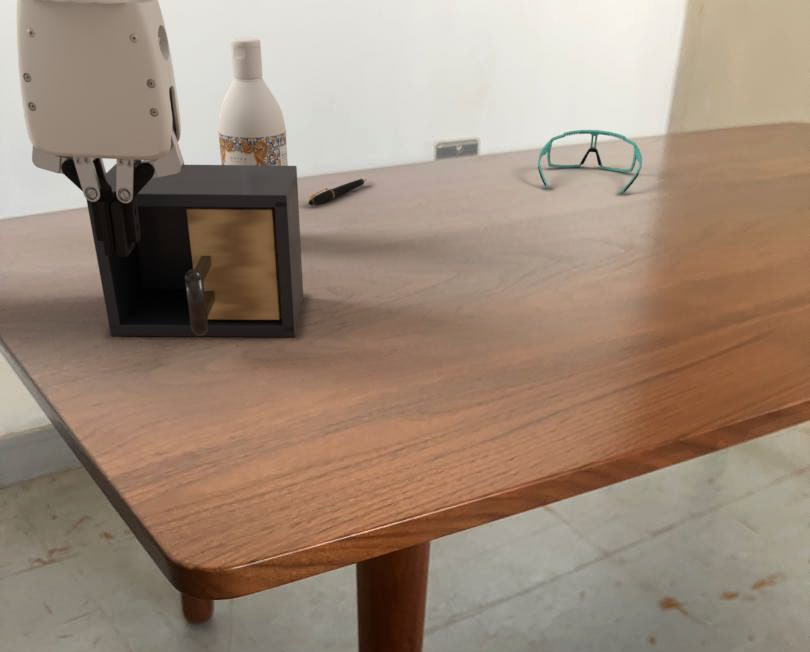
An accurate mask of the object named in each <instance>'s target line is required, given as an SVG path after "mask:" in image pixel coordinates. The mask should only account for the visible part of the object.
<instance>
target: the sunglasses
mask: <svg viewBox="0 0 810 652" xmlns="http://www.w3.org/2000/svg"><path fill="white" fill-rule="evenodd" d="M574 135H591V139H590V140H591V141H590V145H589V146H590V147H589V149H587V151H586V153H585V154H584V155H583V158H581V160H580V162H579V164H555V163H552V161H551V153H552V152H551V151H552V147H553V146H552V145H553V142H554V141H556V140H559V139H563V138H566V136H567V137H569V136H574ZM599 135H601V136H602V135H603V136H608V137H613V138H616V139H620V140H622V141H624V142H626V143H628V144H630V145H631V146H633V158H632V163H631V166H630V168H625V169H624V168H614V167H607V166H603V163H602V159H601V157H600V154H599V150H598V148H597V144H598V143H597V141H598V136H599ZM590 153H595V156H596V161H597V165H598V167H600V169H602V170H606V171H611V172H612V171H613V172H619V173H631V172H633V171H634V169H635V166H636V162H638V168H637V169H636V172H635V173H634V175H633V176H632V178H630V180H629V182H628V183H627V184H626V185H625V186H624V187H623V188H622V189H621V191H620V194H621V195H623V194H625V193H626V192H627V190H629V188H630V187H631V186H632V185H633V183H634V182H635V180H637V178H638V176H639V175H640V172H641V169H642V165H643V155H642V153H641V150H640V148H639V147H638V145H637V143H636V142H635V141H632V140H631V139H628V138H627V137H626V136H625V135H622V134H621V133H616V132H613V131H607V130H601V129H579V130H578V129H577V130H570V131H565V132H563V133H562V134H559V135H556V136H554V137H553V136H552V137H551V138H550V139H549V141H548V142H547V141H546V143H545V144H544V146H543V147H542V148H541V150H540V152H539V156H538V160H537V169H538V173H539V176H540V179H541V181H542V183H543V186H544V187H545V189H549V184H548V181H547V179H546V178H545V175H544V172H543V168H542V165H541V160H542V157H543V156H546V161H547V165H548V167H549V168H559V169H560V168H561V169H562V168H563V169H564V168H565V169H570V168H571V169H572V168H574V169H575V168H580V167H582V166H583V165H584V164H585V162H586V160H587V158H588V156H589V154H590Z"/></svg>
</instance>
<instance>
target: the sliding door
mask: <svg viewBox="0 0 810 652" xmlns="http://www.w3.org/2000/svg"><path fill="white" fill-rule="evenodd" d="M186 212H187V221H188V229H189V237H190V246H191V254H192V262H193V269H190V270H188V271H187V272H186V273H185V285H186V293H187V301H188V309H189V317H190V325H191V330H192V332H193V333H194V334H196V335H199V336H198V337H202V336H201V335H204V334H206V333H207V331H208V319H213V320H280V317H281V316H280V301H279V286H278V271H277V256H276V241H275V226H274V211H273V208H258V207H187V209H186Z"/></svg>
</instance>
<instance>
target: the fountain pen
mask: <svg viewBox="0 0 810 652" xmlns="http://www.w3.org/2000/svg"><path fill="white" fill-rule="evenodd" d="M367 180H368V178H359V179H356V180H354V181H350V182H347V183H344V184H341V185H339V186H336V187H333V188H330V189H328V187H325V188H322V189H321V190H319V191H316V192H315V193H312V194H311V195H310V196H309V198H308V199H309V200H308V205H310V206H317V205H321V204H324V203H327V202H330V201H332V200H334V199H335V198H337V197H339V196H342V195H344V194H347V193H349V192H351V191H353V190H354V189H355V190H356V189H357V188H359V187H361V186H363V185H364V184H365V182H367Z"/></svg>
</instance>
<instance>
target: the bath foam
mask: <svg viewBox="0 0 810 652" xmlns="http://www.w3.org/2000/svg"><path fill="white" fill-rule="evenodd" d="M230 52H231V53H230V55H231V66H232V75H233V80H232V81H231V84H230V86H229V87H228V90H227V92H226V94H225V96H224V99H223V100H222V103H221V106H220V110H219V115H218V127H217V128H218V131H217V132H218V142H219V153H220V154H219V155H220V163H221V164H220V165H270V166H289V164H288V162H289V161H288V145H287V130H286V123H285V119H284V115H283V112H282V110H281V109H282V108H281V107H280V104H279V103H278V101H277V98H276V97H275V96H274V94H273V93H272V91H271V90H270V88H269V87H268V85H267V83H266V81H264V78H263V62H262V47H261V40H260V38H259V37H258V38H257V37H250V36H249V37H248V36H246V37H245V36H244V37H232V38H230Z"/></svg>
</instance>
